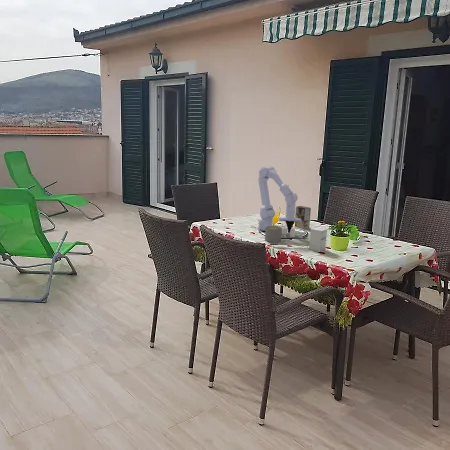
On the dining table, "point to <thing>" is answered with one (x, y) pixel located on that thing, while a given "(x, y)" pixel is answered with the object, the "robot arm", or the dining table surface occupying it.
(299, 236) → the console
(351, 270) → the dining table surface
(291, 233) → the slider front
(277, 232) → the coffee mug
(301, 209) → the coffee box
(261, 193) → the robot arm
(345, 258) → the dining table surface
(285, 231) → the slider middle
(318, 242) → the supplement box
